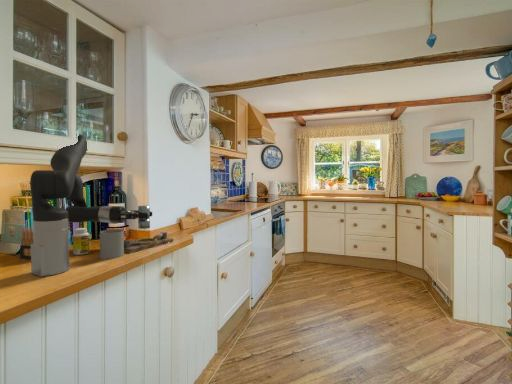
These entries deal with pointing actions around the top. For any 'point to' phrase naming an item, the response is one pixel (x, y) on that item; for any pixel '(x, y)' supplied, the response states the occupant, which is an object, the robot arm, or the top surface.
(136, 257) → the top surface
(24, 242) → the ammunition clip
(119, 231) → the cup
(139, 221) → the universal joint
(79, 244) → the supplement bottle
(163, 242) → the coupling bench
